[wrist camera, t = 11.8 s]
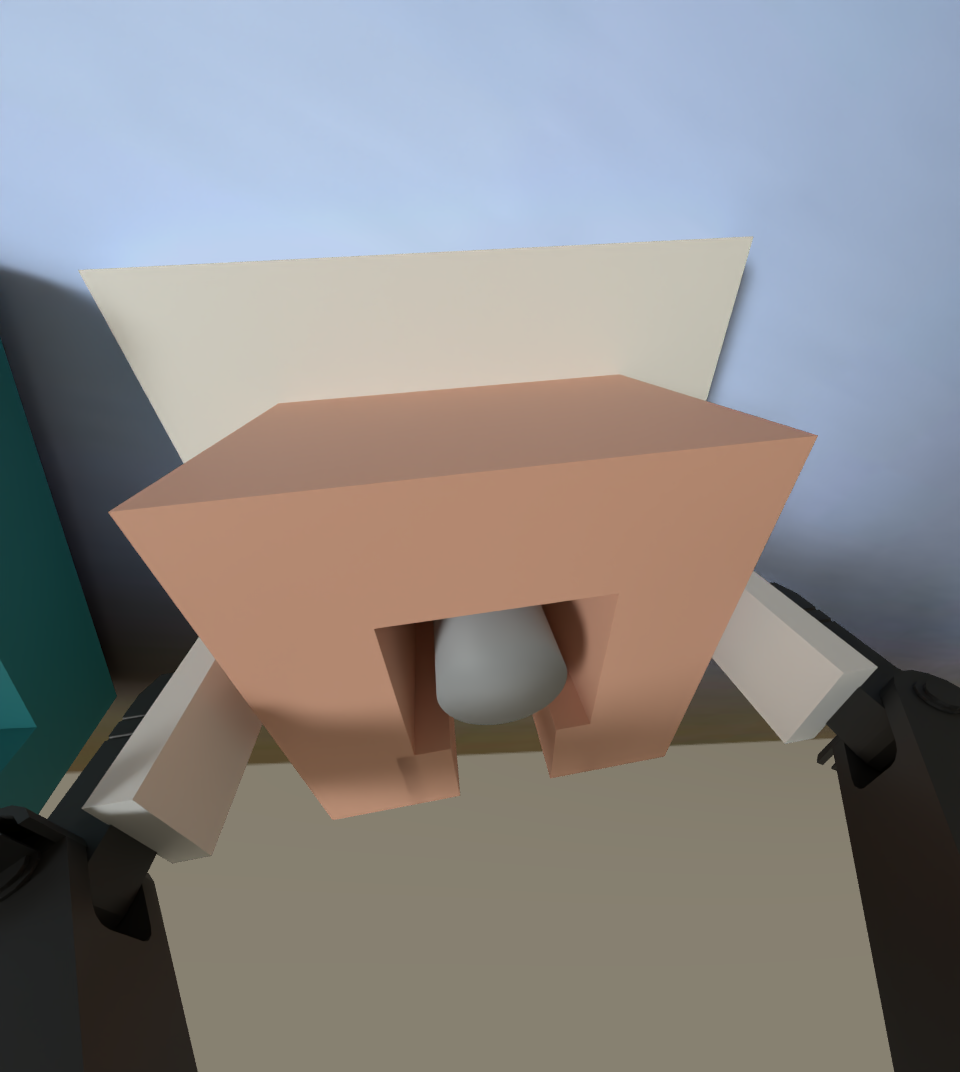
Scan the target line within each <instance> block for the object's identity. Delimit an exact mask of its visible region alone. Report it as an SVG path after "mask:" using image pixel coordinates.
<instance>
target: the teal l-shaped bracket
mask: <svg viewBox="0 0 960 1072" xmlns="http://www.w3.org/2000/svg"><path fill="white" fill-rule="evenodd" d="M116 697H117V695H116V692H115V689H114V686H113V683H112V680H111V677H110V673H109V670H108V667H107V664H106V661H105V658H104V655H103V652H102V649H101V646H100V643H99V640H98V637H97V633H96V630H95V627H94V624H93V621H92V618H91V615H90V612H89V609H88V606H87V603H86V600H85V597H84V594H83V590H82V587H81V584H80V581H79V578H78V575H77V572H76V569H75V566H74V563H73V560H72V557H71V554H70V550H69V547H68V544H67V541H66V538H65V535H64V532H63V529H62V526H61V523H60V520H59V517H58V514H57V510H56V507H55V504H54V501H53V498H52V495H51V492H50V489H49V486H48V483H47V480H46V477H45V474H44V470H43V467H42V464H41V461H40V458H39V455H38V452H37V449H36V446H35V443H34V440H33V437H32V434H31V430H30V427H29V424H28V421H27V418H26V415H25V412H24V409H23V406H22V403H21V400H20V397H19V394H18V390H17V387H16V384H15V381H14V378H13V375H12V372H11V369H10V366H9V363H8V360H7V357H6V354H5V350H4V347H3V344H2V341H1V338H0V808H3V807H7V806H11V805H14V806H20V807H25V808H27V809H29V810H31V811H33V812H34V813H36V814H39V813H40V811H41V809H42V808H43V806H44V805H45V803H46V802H47V800H48V799H49V797H50V796H51V794H52V793H53V791H54V790H55V788H56V787H57V785H58V784H59V782H60V781H61V779H62V778H63V776H64V775H65V773H66V772H67V770H68V769H69V767H70V766H71V764H72V763H73V761H74V760H75V758H76V757H77V755H78V754H79V752H80V751H81V749H82V748H83V746H84V745H85V743H86V742H87V740H88V739H89V737H90V736H91V734H92V733H93V731H94V730H95V728H96V727H97V725H98V724H99V722H100V721H101V719H102V718H103V716H104V715H105V713H106V712H107V710H108V709H109V707H110V706H111V704H112V703H113V701H114V700H115V698H116Z"/></svg>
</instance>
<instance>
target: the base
mask: <svg viewBox="0 0 960 1072" xmlns="http://www.w3.org/2000/svg"><path fill="white" fill-rule="evenodd" d="M752 240H753V237H733V238H713V239H693V240H673V241H653V242H633V243H612V244H592V245H572V246H552V247H532V248H512V249H492V250H472V251H452V252H432V253H411V254H391V255H371V256H351V257H331V258H311V259H291V260H271V261H251V262H230V263H210V264H190V265H170V266H150V267H130V268H110V269H90V270H78V271H79V273H80V275H81V276H82V278H83V280H84V282H85V284H86V286H87V287H88V289H89V291H90V293H91V295H92V296H93V298H94V300H95V302H96V304H97V306H98V307H99V309H100V311H101V313H102V315H103V317H104V318H105V320H106V322H107V324H108V326H109V328H110V329H111V331H112V333H113V335H114V337H115V339H116V340H117V342H118V344H119V346H120V348H121V350H122V351H123V353H124V355H125V357H126V359H127V361H128V362H129V364H130V366H131V368H132V370H133V372H134V373H135V375H136V377H137V379H138V381H139V383H140V384H141V386H142V388H143V390H144V392H145V393H146V395H147V397H148V399H149V401H150V403H151V404H152V406H153V408H154V410H155V412H156V414H157V415H158V417H159V419H160V421H161V423H162V425H163V426H164V428H165V430H166V432H167V434H168V436H169V437H170V439H171V441H172V443H173V445H174V447H175V448H176V450H177V452H178V454H179V456H180V458H181V459H182V461H183V463H186V462H187V461H189V460H190V459H192V458H193V457H195V456H197V455H198V454H200V453H201V452H203V451H204V450H206V449H208V448H209V447H211V446H212V445H214V444H215V443H217V442H219V441H220V440H222V439H223V438H225V437H226V436H228V435H230V434H231V433H233V432H234V431H236V430H237V429H239V428H241V427H242V426H244V425H245V424H247V423H248V422H250V421H252V420H253V419H255V418H256V417H258V416H259V415H261V414H262V413H264V412H266V411H267V410H269V409H270V408H272V407H273V406H275V405H277V404H278V403H288V402H300V401H312V400H323V399H335V398H347V397H359V396H370V395H382V394H394V393H406V392H417V391H429V390H441V389H452V388H464V387H476V386H488V385H499V384H511V383H523V382H535V381H546V380H558V379H570V378H582V377H593V376H605V375H617V374H620V375H623V376H627V377H630V378H633V379H636V380H640V381H643V382H646V383H649V384H652V385H656V386H659V387H662V388H665V389H669V390H672V391H675V392H678V393H682V394H685V395H688V396H691V397H695V398H698V399H701V400H704V401H706V400H707V397H708V393H709V390H710V386H711V383H712V379H713V376H714V372H715V369H716V365H717V362H718V358H719V355H720V351H721V348H722V344H723V341H724V337H725V334H726V330H727V327H728V323H729V320H730V316H731V313H732V309H733V306H734V302H735V299H736V295H737V292H738V289H739V285H740V282H741V278H742V275H743V271H744V268H745V264H746V261H747V257H748V254H749V250H750V247H751V243H752ZM433 625H434V648H435V672H436V694H437V700H438V703H439V705H440V707H441V708H442V709H443V710H444V712H446V713H447V714H448V715H449V716H451V717H453V718H454V719H457V720H459V721H462V722H466V723H470V724H477V725H495V724H503V723H508V722H513V721H516V720H520V719H522V718H525V717H528V716H530V715H532V714H534V713H536V712H538V711H540V710H541V709H543V708H544V707H546V706H547V705H549V704H550V703H551V702H552V701H553V700H554V699H555V698H556V697H557V696H558V695H559V694H560V692H561V691H562V689H563V688H564V685H565V683H566V680H567V667H566V664H565V662H564V660H563V657H562V655H561V652H560V650H559V647H558V645H557V643H556V640H555V638H554V635H553V633H552V631H551V628H550V626H549V623H548V621H547V618H546V616H545V614H544V611H543V609H542V606H541V605H535V606H528V607H521V608H514V609H507V610H500V611H494V612H487V613H480V614H473V615H466V616H459V617H452V618H445V619H438V620H433Z"/></svg>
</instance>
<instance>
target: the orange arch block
mask: <svg viewBox="0 0 960 1072" xmlns="http://www.w3.org/2000/svg"><path fill="white" fill-rule="evenodd" d="M817 436H818V435H814V434H811V433H808V432H805V431H801V430H798V429H795V428H792V427H789V426H785V425H782V424H779V423H776V422H772V421H769V420H766V419H763V418H759V417H756V416H753V415H750V414H746V413H743V412H740V411H737V410H733V409H730V408H727V407H724V406H721V405H717V404H714V403H711V402H708V401H704V400H701V399H698V398H695V397H691V396H688V395H685V394H682V393H678V392H675V391H672V390H669V389H665V388H662V387H659V386H656V385H652V384H649V383H646V382H643V381H640V380H636V379H633V378H630V377H627V376H623V375H620V374H617V375H605V376H593V377H582V378H570V379H558V380H546V381H535V382H523V383H511V384H499V385H488V386H476V387H464V388H452V389H441V390H429V391H417V392H406V393H394V394H382V395H370V396H359V397H347V398H335V399H323V400H312V401H300V402H288V403H278V404H277V405H275V406H273V407H272V408H270V409H269V410H267V411H266V412H264V413H262V414H261V415H259V416H258V417H256V418H255V419H253V420H252V421H250V422H248V423H247V424H245V425H244V426H242V427H241V428H239V429H237V430H236V431H234V432H233V433H231V434H230V435H228V436H226V437H225V438H223V439H222V440H220V441H219V442H217V443H215V444H214V445H212V446H211V447H209V448H208V449H206V450H204V451H203V452H201V453H200V454H198V455H197V456H195V457H193V458H192V459H190V460H189V461H187V462H186V463H184V464H183V465H181V466H179V467H178V468H176V469H175V470H173V471H172V472H170V473H168V474H167V475H165V476H164V477H162V478H161V479H159V480H157V481H156V482H154V483H153V484H151V485H150V486H148V487H146V488H145V489H143V490H142V491H140V492H139V493H137V494H135V495H134V496H132V497H131V498H129V499H128V500H126V501H125V502H123V503H121V504H120V505H118V506H117V507H115V508H114V509H112V510H110V511H109V512H108V513H109V514H110V515H111V517H112V518H113V520H114V521H115V522H116V524H117V525H118V526H119V528H120V529H121V530H122V532H123V533H124V535H125V536H126V537H127V539H128V540H129V541H130V543H131V544H132V546H133V547H134V548H135V550H136V551H137V552H138V554H139V555H140V557H141V558H142V559H143V561H144V562H145V563H146V565H147V566H148V567H149V569H150V570H151V572H152V573H153V574H154V576H155V577H156V578H157V580H158V581H159V583H160V584H161V585H162V587H163V588H164V589H165V591H166V592H167V594H168V595H169V596H170V598H171V599H172V600H173V602H174V603H175V605H176V606H177V607H178V609H179V610H180V611H181V613H182V614H183V615H184V617H185V618H186V620H187V621H188V622H189V624H190V625H191V626H192V628H193V629H194V631H195V632H196V633H197V635H198V636H199V637H200V639H201V640H202V642H203V643H204V644H205V646H206V647H207V648H208V650H209V651H210V652H211V654H212V655H213V657H214V658H215V659H216V661H217V662H218V663H219V665H220V666H221V668H222V669H223V670H224V672H225V673H226V674H227V676H228V677H229V679H230V680H231V681H232V683H233V684H234V685H235V687H236V688H237V690H238V691H239V692H240V694H241V695H242V696H243V698H244V699H245V700H246V702H247V703H248V705H249V706H250V707H251V709H252V710H253V711H254V713H255V714H256V716H257V717H258V718H259V720H260V721H261V722H262V724H263V725H264V727H265V728H266V729H267V731H268V732H269V733H270V735H271V736H272V737H273V739H274V740H275V742H276V743H277V744H278V746H279V747H280V748H281V750H282V751H283V753H284V754H285V755H286V757H287V758H288V759H289V761H290V762H291V764H292V765H293V766H294V768H295V769H296V770H297V772H298V773H299V774H300V776H301V777H302V779H303V780H304V781H305V783H306V784H307V785H308V787H309V788H310V790H311V791H312V792H313V794H314V795H315V796H316V798H317V799H318V801H319V802H320V803H321V804H322V806H323V807H324V809H325V810H326V812H327V813H328V814H329V815H330V817H331V818H332V820H336V819H341V818H346V817H352V816H356V815H362V814H367V813H372V812H378V811H383V810H387V809H393V808H398V807H404V806H409V805H414V804H419V803H424V802H429V801H435V800H440V799H445V798H451V797H456V796H460V788H459V777H458V764H457V752H456V740H455V727H454V718H453V717H451V716H449V715H448V714H447V713H446V712H444V710H443V709H442V708H441V707H440V705H439V703H438V700H437V694H436V672H435V648H434V625H433V620H438V619H445V618H452V617H459V616H466V615H473V614H480V613H487V612H494V611H500V610H507V609H514V608H521V607H528V606H535V605H541V606H542V609H543V611H544V614H545V616H546V618H547V621H548V623H549V626H550V628H551V631H552V633H553V635H554V638H555V640H556V643H557V645H558V647H559V650H560V652H561V655H562V657H563V660H564V662H565V664H566V667H567V680H566V683H565V685H564V688H563V689H562V691H561V692H560V694H559V695H558V696H557V697H556V698H555V699H554V700H553V701H552V702H551V703H550V704H549V705H547V706H546V707H544V708H543V709H541V710H540V711H538V712H536V713H534V714H533V718H534V722H535V725H536V729H537V732H538V736H539V739H540V743H541V747H542V750H543V754H544V757H545V761H546V764H547V768H548V772H549V775H550V778H555V777H559V776H565V775H570V774H575V773H580V772H586V771H591V770H596V769H602V768H607V767H612V766H617V765H622V764H628V763H633V762H637V761H643V760H648V759H654V758H659V757H663V756H665V754H666V752H667V750H668V747H669V746H670V743H671V741H672V739H673V737H674V735H675V733H676V731H677V729H678V727H679V725H680V723H681V720H682V718H683V716H684V714H685V712H686V710H687V708H688V706H689V704H690V702H691V700H692V697H693V695H694V693H695V691H696V689H697V687H698V685H699V683H700V681H701V679H702V677H703V675H704V672H705V670H706V668H707V666H708V664H709V662H710V660H711V658H712V656H713V654H714V652H715V649H716V647H717V645H718V643H719V641H720V639H721V637H722V635H723V633H724V631H725V629H726V626H727V624H728V622H729V620H730V618H731V616H732V614H733V612H734V610H735V608H736V606H737V603H738V601H739V599H740V597H741V595H742V593H743V591H744V589H745V587H746V585H747V583H748V580H749V578H750V576H751V574H752V572H753V570H754V568H755V566H756V564H757V562H758V560H759V558H760V555H761V553H762V551H763V549H764V547H765V545H766V543H767V541H768V539H769V537H770V535H771V532H772V530H773V528H774V526H775V524H776V522H777V520H778V518H779V516H780V514H781V512H782V509H783V507H784V505H785V503H786V501H787V499H788V497H789V495H790V493H791V491H792V489H793V486H794V484H795V482H796V480H797V478H798V476H799V474H800V472H801V470H802V468H803V466H804V463H805V461H806V459H807V457H808V455H809V453H810V451H811V449H812V447H813V445H814V443H815V440H816V438H817Z"/></svg>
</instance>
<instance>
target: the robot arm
mask: <svg viewBox="0 0 960 1072" xmlns="http://www.w3.org/2000/svg"><path fill="white" fill-rule="evenodd" d="M830 619H831V618H829V617H828V616H827V615H825V614H824V613H823V612H821V611H820V610H816V609H815V607H814V606H813V605H812V604H810V603H809V602H808V601H806V600H805V599H804V598H802V597H801V596H800V595H798V594H797V593H795V592H793V591H791V590H789V589H787V588H785V587H783V586H781V585H779V584H777V583H775V582H774V583H769V582H767V581H766V580H765V579H763V578H762V577H761V576H760V575H758V574H757V573H756V572H754V571H753V572H752V574H751V576H750V578H749V580H748V583H747V585H746V587H745V589H744V591H743V593H742V595H741V597H740V599H739V601H738V603H737V606H736V608H735V610H734V612H733V614H732V616H731V618H730V620H729V622H728V624H727V626H726V629H725V631H724V633H723V635H722V637H721V639H720V641H719V643H718V645H717V647H716V649H715V652H714V654H713V656H712V658H713V659H714V660H715V662H716V663H717V664H718V665H719V666H720V668H721V669H722V670H723V671H724V672H725V673H726V675H727V676H728V677H729V678H730V679H731V681H732V682H733V683H734V684H735V685H736V686H737V688H738V689H739V690H740V691H741V692H742V694H743V695H744V696H745V697H746V698H747V699H748V701H749V702H750V703H751V704H752V705H753V707H754V708H755V709H756V710H757V711H758V712H759V714H760V715H761V716H762V717H763V718H764V720H765V721H766V722H767V723H768V724H769V725H770V727H771V728H772V729H773V730H774V731H775V733H776V734H777V735H778V736H779V737H780V738H781V740H782V741H783V742H784V743H785V744H787V743H792V742H797V741H803V740H808V739H813V738H814V737H815V736H816V735H817V734H818V733H819V732H820V731H821V730H822V728H823V727H824V726H825V725H826V724H827V725H828V726H829V727H830V728H831V729H832V730H833V731H834V732H835V733H836V734H837V736H836V737H835V738H834V739H833V740H832V741H831V742H830V743H829V744H828V745H827V746H826V747H825V748H824V749H823V750H822V751H821V752H820V753H819V754H818V758H817V763H819V764H822V765H823V764H824V763H825V762H826V761H827V760H828V759H829V758H830V757H831V756H832V755H834V758H835V764H834V765H833V766H832V769H834V770H836V771H837V773H838V779H839V784H840V789H841V794H842V800H843V805H844V810H845V816H846V820H847V826H848V831H849V836H850V842H851V847H852V852H853V858H854V863H855V868H856V873H857V879H858V884H859V889H860V894H861V900H862V905H863V910H864V915H865V921H866V925H867V931H868V936H869V942H870V947H871V952H872V957H873V963H874V968H875V973H876V978H877V984H878V988H879V994H880V999H881V1004H882V1009H883V1015H884V1020H885V1025H886V1031H887V1036H888V1041H889V1047H890V1051H891V1057H892V1062H893V1067H894V1072H960V688H959V687H957V686H955V685H954V684H952V683H950V682H948V681H946V680H944V679H941V678H939V677H936V676H933V675H931V674H928V673H923V672H918V671H914V670H908V671H901V670H900V669H898V668H897V667H895V666H894V665H892V664H891V663H890V662H888V661H887V660H886V659H884V658H883V657H882V656H880V655H879V654H878V653H876V652H875V651H874V650H872V649H871V648H870V647H868V646H867V645H865V644H864V643H863V642H861V641H860V640H859V639H857V638H856V637H855V636H853V635H852V634H851V633H849V632H848V631H847V630H845V629H844V628H843V627H841V626H840V625H839V624H837V623H836V622H835V621H834V622H832V621H831V620H830ZM261 726H262V722H261V721H260V720H259V718H258V717H257V716H256V714H255V713H254V711H253V710H252V709H251V707H250V706H249V705H248V703H247V702H246V700H245V699H244V698H243V696H242V695H241V694H240V692H239V691H238V690H237V688H236V687H235V685H234V684H233V683H232V681H231V680H230V679H229V677H228V676H227V674H226V673H225V672H224V670H223V669H222V668H221V666H220V665H219V663H218V662H217V661H216V659H215V658H214V657H213V655H212V654H211V652H210V651H209V650H208V648H207V647H206V646H205V644H204V643H203V642H202V640H201V639H200V637H198V639H197V640H196V642H195V643H194V645H193V646H192V648H191V649H190V651H189V652H188V654H187V655H186V657H185V658H184V659H183V661H182V662H181V664H180V665H179V667H178V668H177V670H176V671H175V673H169V674H163V675H161V676H160V677H159V678H157V679H156V680H155V681H154V682H153V683H152V684H151V685H150V686H148V687H147V688H146V689H145V690H144V691H143V692H142V693H140V694H139V696H138V697H137V698H136V700H135V701H134V702H133V704H132V705H131V706H130V708H129V709H128V710H127V712H126V713H125V715H124V716H123V720H122V721H121V722H119V723H118V724H117V725H116V727H115V728H114V729H113V731H112V732H111V734H110V735H109V739H108V741H105V742H104V743H103V744H102V746H101V747H100V748H99V750H98V751H97V753H96V754H95V755H94V757H93V758H92V759H91V761H90V762H89V763H88V765H87V766H86V767H85V769H84V770H83V772H82V773H81V774H80V776H79V777H78V779H77V780H76V781H75V783H74V784H73V785H72V787H71V788H70V789H69V791H68V792H67V793H66V795H65V796H64V798H63V799H62V800H61V802H60V803H59V804H58V805H57V807H56V808H55V810H54V811H53V812H52V814H51V815H50V816H49V818H48V819H46V818H44V817H41V816H40V815H38V814H36V813H34V812H33V811H31V810H29V809H27V808H25V807H20V806H14V805H11V806H7V807H3V808H0V1072H197V1067H196V1063H195V1058H194V1054H193V1050H192V1046H191V1041H190V1037H189V1032H188V1028H187V1024H186V1019H185V1015H184V1010H183V1006H182V1002H181V997H180V993H179V989H178V985H177V980H176V976H175V971H174V967H173V962H172V958H171V954H170V950H169V946H168V941H167V936H166V932H165V928H164V923H163V919H162V915H161V910H160V906H159V901H158V897H157V893H156V888H155V884H154V881H153V880H152V878H151V877H150V875H149V873H147V872H148V870H149V868H150V866H151V864H152V862H153V860H154V858H155V856H156V854H157V855H159V856H161V857H162V858H164V859H166V860H167V861H169V862H171V863H177V862H182V861H188V860H193V859H198V858H203V857H208V856H212V854H213V851H214V848H215V846H216V843H217V841H218V838H219V835H220V833H221V830H222V828H223V825H224V822H225V820H226V817H227V815H228V812H229V809H230V807H231V804H232V802H233V799H234V796H235V794H236V791H237V788H238V786H239V783H240V781H241V778H242V776H243V773H244V770H245V768H246V765H247V763H248V760H249V757H250V755H251V752H252V750H253V747H254V744H255V742H256V739H257V737H258V734H259V731H260V729H261Z"/></svg>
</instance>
